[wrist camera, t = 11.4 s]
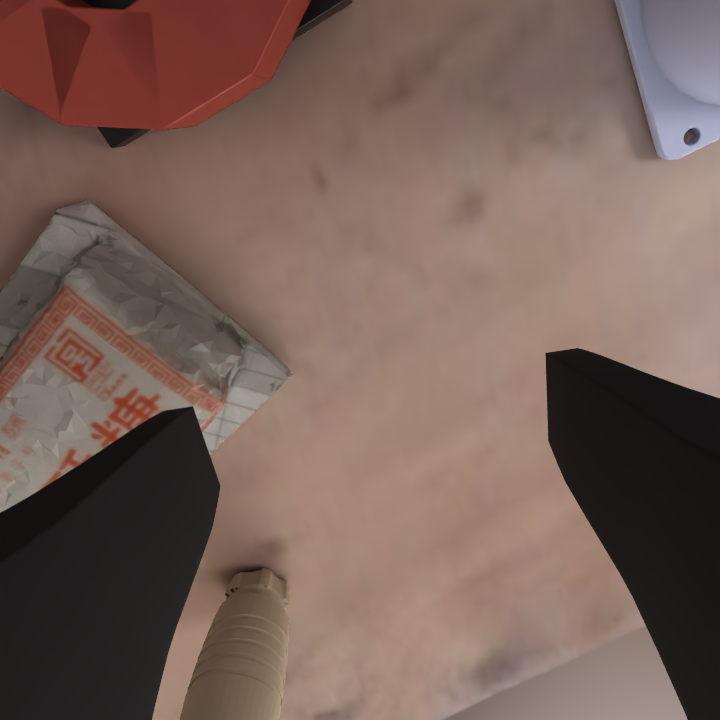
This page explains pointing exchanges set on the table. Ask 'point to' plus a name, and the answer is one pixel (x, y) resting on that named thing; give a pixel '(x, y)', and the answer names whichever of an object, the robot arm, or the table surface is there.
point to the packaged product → (111, 352)
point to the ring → (141, 57)
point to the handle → (243, 653)
